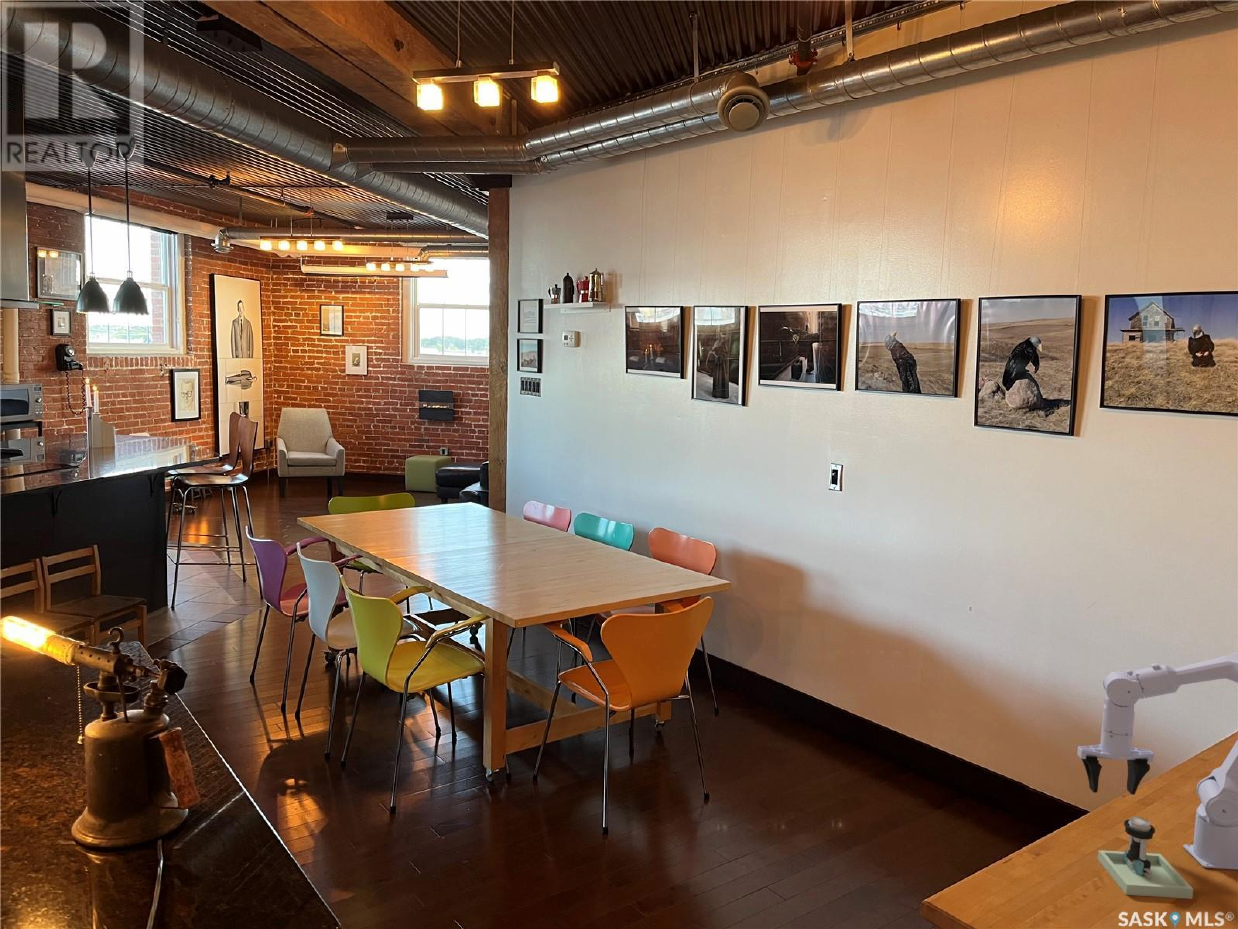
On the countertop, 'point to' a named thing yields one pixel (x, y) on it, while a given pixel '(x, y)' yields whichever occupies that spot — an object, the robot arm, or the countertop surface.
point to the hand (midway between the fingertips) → (1112, 791)
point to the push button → (1138, 845)
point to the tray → (1132, 883)
